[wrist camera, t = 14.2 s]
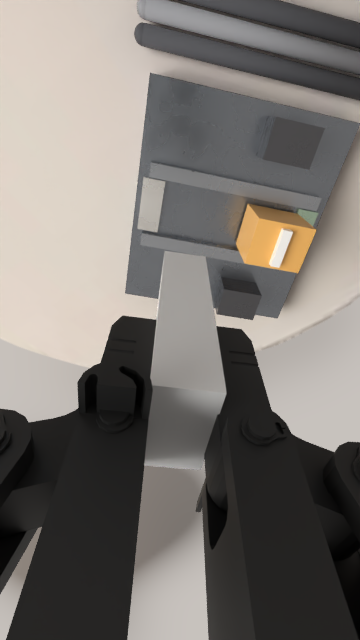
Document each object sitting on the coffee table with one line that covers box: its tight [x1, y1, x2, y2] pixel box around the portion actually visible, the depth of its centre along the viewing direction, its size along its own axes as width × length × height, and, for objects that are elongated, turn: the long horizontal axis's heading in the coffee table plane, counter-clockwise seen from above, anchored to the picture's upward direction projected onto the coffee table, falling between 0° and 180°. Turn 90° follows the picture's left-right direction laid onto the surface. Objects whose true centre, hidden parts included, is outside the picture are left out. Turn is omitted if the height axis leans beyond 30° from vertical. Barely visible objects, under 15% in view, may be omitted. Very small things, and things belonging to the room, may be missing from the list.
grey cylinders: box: [134, 0, 360, 100], centre depth 26 cm, size 5×21×1 cm, turn 79°
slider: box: [236, 204, 316, 273], centre depth 29 cm, size 4×5×6 cm
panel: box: [125, 73, 360, 320], centre depth 31 cm, size 20×18×6 cm
